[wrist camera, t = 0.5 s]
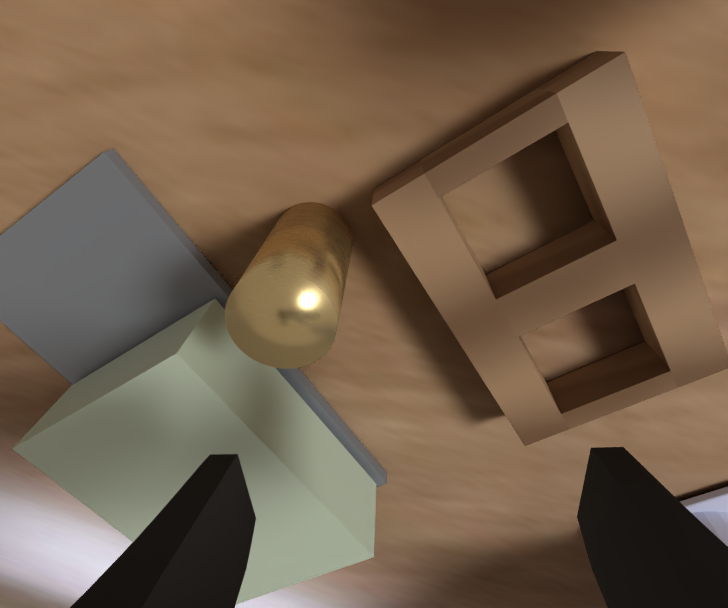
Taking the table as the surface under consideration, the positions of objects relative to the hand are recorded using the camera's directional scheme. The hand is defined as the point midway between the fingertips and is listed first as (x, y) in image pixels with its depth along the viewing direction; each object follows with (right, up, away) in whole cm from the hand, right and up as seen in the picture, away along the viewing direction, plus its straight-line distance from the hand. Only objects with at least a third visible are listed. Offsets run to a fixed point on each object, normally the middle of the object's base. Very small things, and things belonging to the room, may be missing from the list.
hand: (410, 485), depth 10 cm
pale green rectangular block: (-7, -2, +13) cm, 15 cm away
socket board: (+6, +5, +8) cm, 11 cm away
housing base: (-9, 0, +11) cm, 14 cm away
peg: (-3, +6, +8) cm, 10 cm away
